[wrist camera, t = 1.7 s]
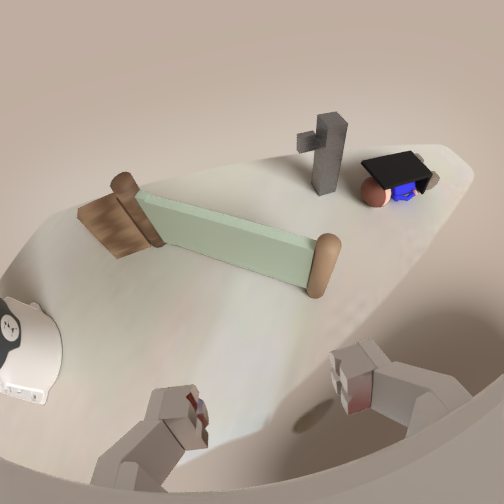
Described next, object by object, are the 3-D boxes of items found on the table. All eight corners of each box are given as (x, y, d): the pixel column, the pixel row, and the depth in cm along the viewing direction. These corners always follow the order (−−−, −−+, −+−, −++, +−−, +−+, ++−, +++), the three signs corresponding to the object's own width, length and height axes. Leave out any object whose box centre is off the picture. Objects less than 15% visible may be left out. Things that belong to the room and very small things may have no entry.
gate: (163, 247, 42) (130, 198, 31) (171, 234, 42) (140, 183, 32) (321, 300, 35) (338, 258, 25) (326, 284, 36) (343, 237, 26)
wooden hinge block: (117, 262, 42) (68, 212, 29) (116, 247, 43) (71, 196, 31) (169, 243, 42) (131, 184, 30) (166, 228, 44) (131, 168, 31)
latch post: (305, 200, 44) (310, 130, 32) (295, 182, 46) (297, 114, 33) (335, 191, 44) (347, 123, 32) (324, 175, 46) (332, 107, 34)
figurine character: (407, 175, 47) (348, 190, 44) (422, 146, 40) (361, 155, 37) (428, 200, 44) (371, 220, 41) (446, 172, 37) (389, 187, 34)
